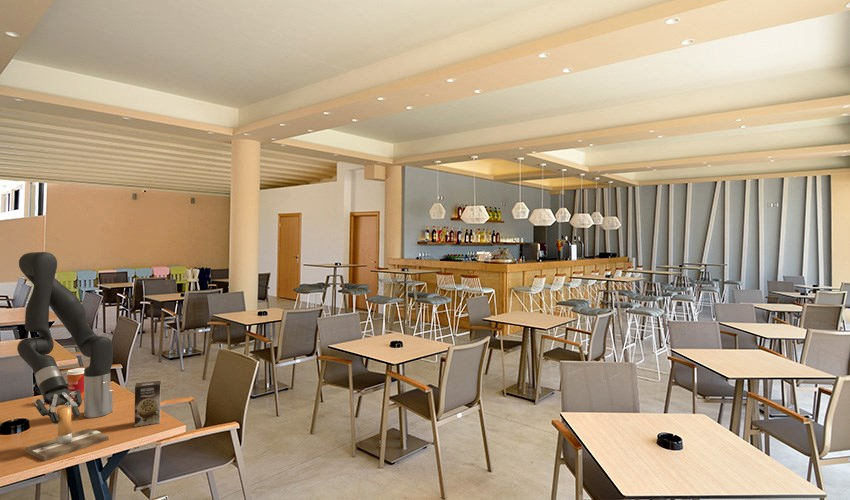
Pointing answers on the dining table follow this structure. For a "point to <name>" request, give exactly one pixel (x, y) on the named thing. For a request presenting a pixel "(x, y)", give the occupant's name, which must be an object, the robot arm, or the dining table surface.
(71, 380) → the paper cup
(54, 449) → the board
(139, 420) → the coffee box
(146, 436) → the dining table surface
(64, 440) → the tan cylinder
